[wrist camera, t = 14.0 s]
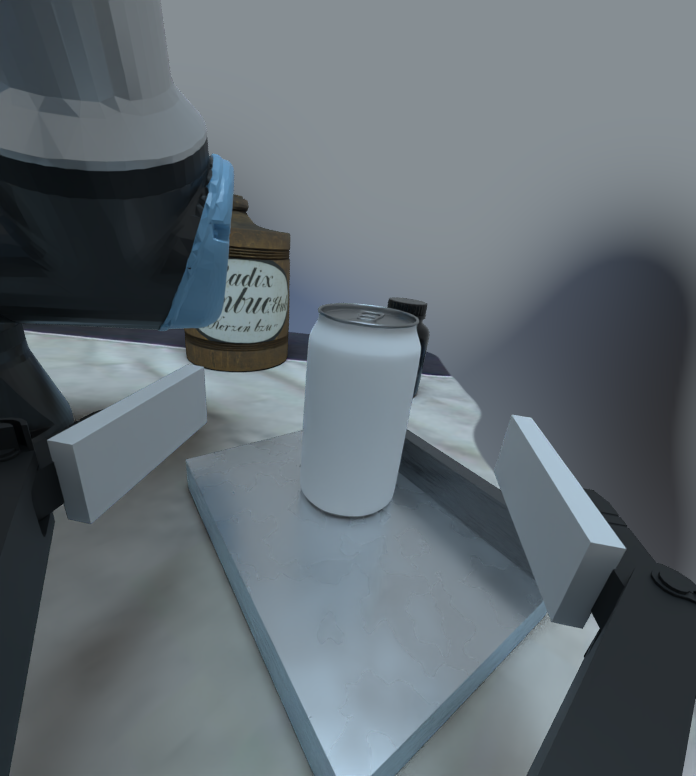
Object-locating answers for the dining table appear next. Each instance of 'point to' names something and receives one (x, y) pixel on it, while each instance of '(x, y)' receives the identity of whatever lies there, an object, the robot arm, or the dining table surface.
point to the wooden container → (248, 302)
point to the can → (357, 406)
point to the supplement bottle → (419, 311)
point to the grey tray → (368, 596)
